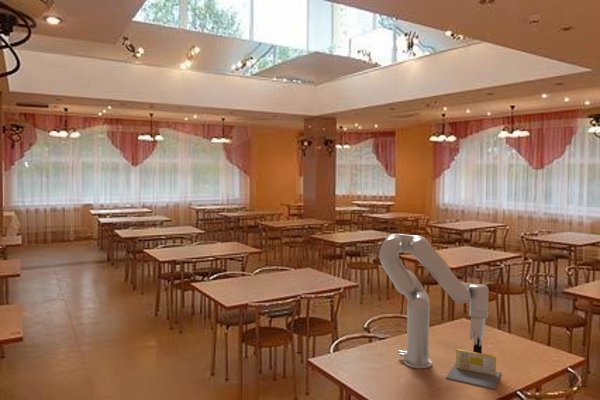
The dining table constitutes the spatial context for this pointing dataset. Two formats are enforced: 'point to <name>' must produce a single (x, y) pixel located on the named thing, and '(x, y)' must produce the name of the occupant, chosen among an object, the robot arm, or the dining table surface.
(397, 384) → the dining table surface
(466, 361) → the candy box
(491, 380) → the mat
